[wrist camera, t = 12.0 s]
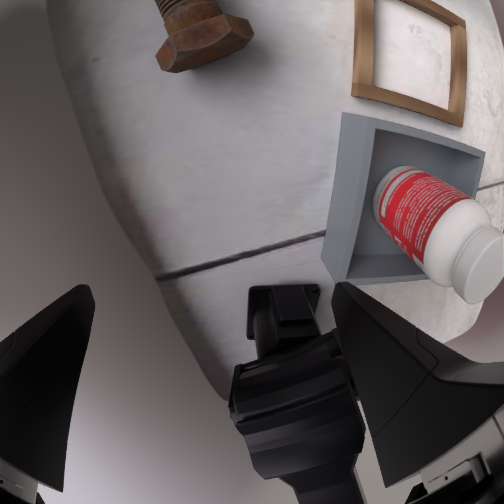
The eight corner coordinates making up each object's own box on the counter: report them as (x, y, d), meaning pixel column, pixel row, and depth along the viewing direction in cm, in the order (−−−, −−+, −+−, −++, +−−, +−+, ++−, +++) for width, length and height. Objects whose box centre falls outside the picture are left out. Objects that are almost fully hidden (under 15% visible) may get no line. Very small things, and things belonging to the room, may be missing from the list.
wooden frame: (453, 125, 18) (462, 127, 17) (351, 95, 17) (358, 96, 16) (456, 21, 13) (465, 21, 12) (353, -26, 11) (360, -30, 10)
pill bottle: (359, 222, 22) (436, 313, 12) (385, 152, 19) (492, 210, 9) (410, 237, 23) (485, 315, 14) (436, 177, 20) (528, 237, 11)
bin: (426, 255, 25) (447, 277, 22) (321, 257, 24) (336, 286, 20) (455, 140, 19) (485, 152, 15) (342, 112, 18) (368, 117, 14)
